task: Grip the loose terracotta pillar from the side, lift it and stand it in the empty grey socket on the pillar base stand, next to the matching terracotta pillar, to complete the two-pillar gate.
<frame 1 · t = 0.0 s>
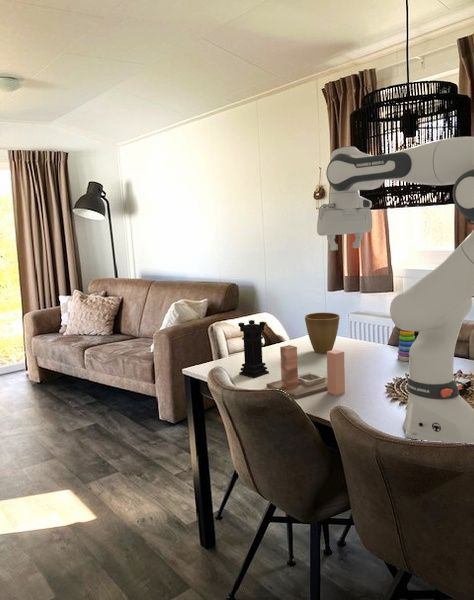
hand: (345, 249, 160), 48 cm above the table, tool pointing down, fingers open, 8 cm apart
plant pot: (322, 352, 227), on the table
stacking toy: (407, 359, 209), on the table
chess piece: (254, 374, 199), on the table
loose pillar: (336, 392, 174), on the table
pillar base stand: (303, 386, 182), on the table
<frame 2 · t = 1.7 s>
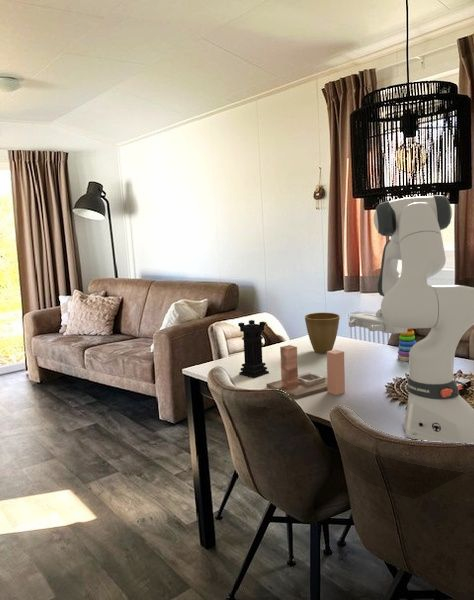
hand: (360, 326, 177), 21 cm above the table, tool horizontal, fingers open, 8 cm apart
nothing on the table moved.
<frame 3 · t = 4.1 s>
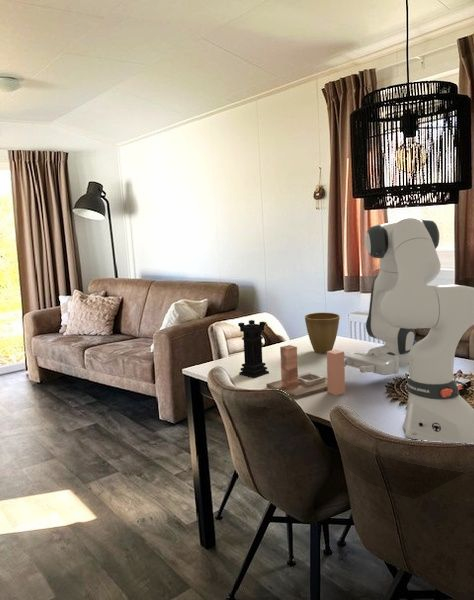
hand: (350, 367, 176), 7 cm above the table, tool horizontal, fingers open, 8 cm apart
nothing on the table moved.
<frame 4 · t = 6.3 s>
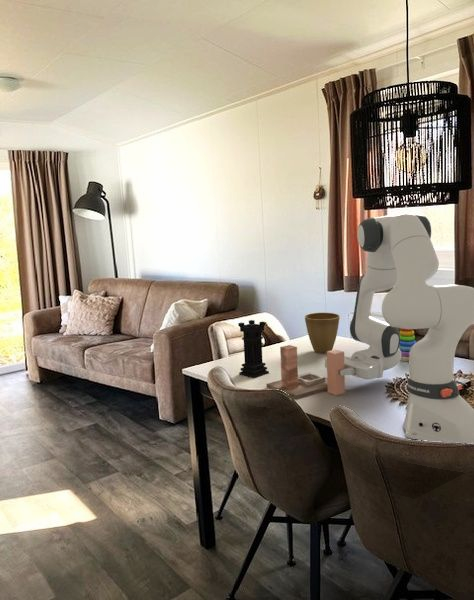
hand: (333, 371, 172), 8 cm above the table, tool horizontal, fingers closed on loose pillar, 4 cm apart
loose pillar: (336, 392, 174), on the table, touching gripper
everything else where it was.
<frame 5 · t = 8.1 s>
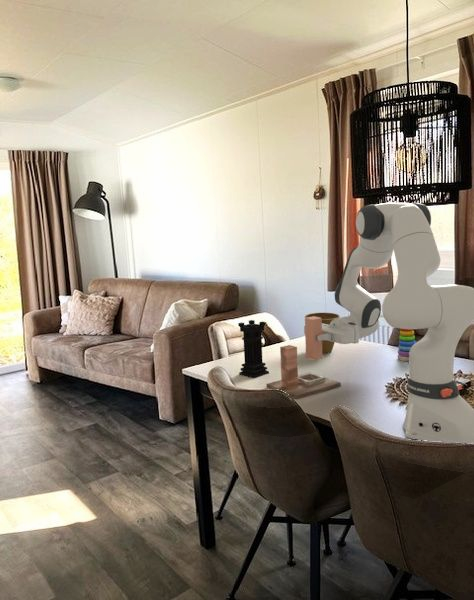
hand: (311, 336, 179), 18 cm above the table, tool horizontal, fingers closed on loose pillar, 4 cm apart
loose pillar: (314, 357, 181), point 10 cm above the table, touching gripper
everything else where it was.
when the fingers open (9 cm above the table, at t = 10.1 s): loose pillar stays where it is, resting on pillar base stand.
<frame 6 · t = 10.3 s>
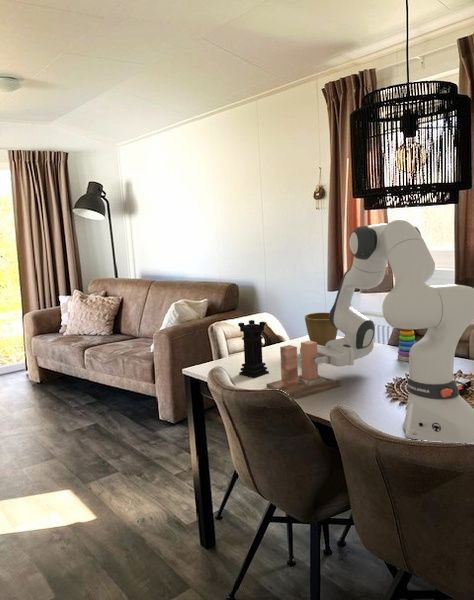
hand: (307, 358, 181), 9 cm above the table, tool horizontal, fingers open, 6 cm apart
loose pillar: (309, 381, 183), point 1 cm above the table, touching pillar base stand
everything else where it was.
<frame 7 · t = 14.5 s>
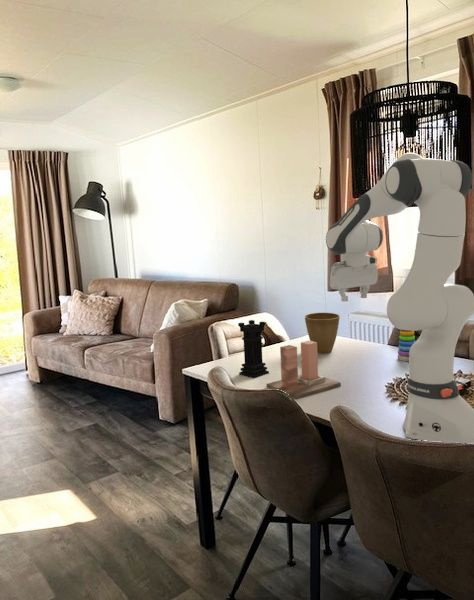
hand: (354, 299, 184), 29 cm above the table, tool pointing down, fingers open, 8 cm apart
nothing on the table moved.
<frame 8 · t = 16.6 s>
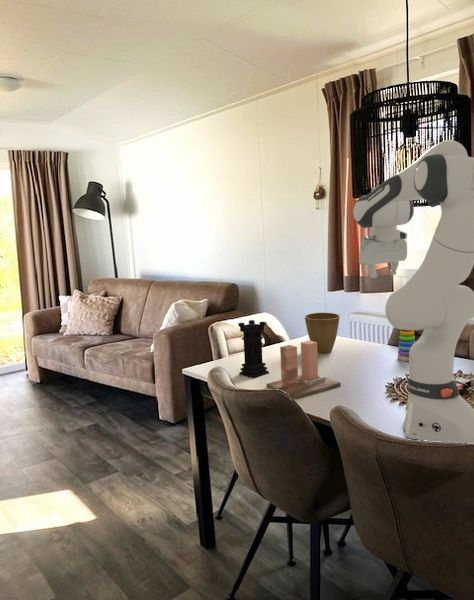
hand: (383, 276, 177), 37 cm above the table, tool pointing down, fingers open, 8 cm apart
nothing on the table moved.
at the end: loose pillar 0.0 cm from the target spot, point 1.2 cm above the table; loose pillar tilted 0°; the gripper is holding nothing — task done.
